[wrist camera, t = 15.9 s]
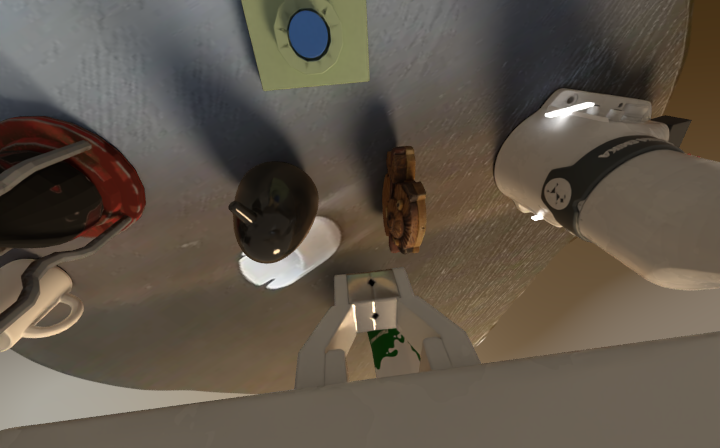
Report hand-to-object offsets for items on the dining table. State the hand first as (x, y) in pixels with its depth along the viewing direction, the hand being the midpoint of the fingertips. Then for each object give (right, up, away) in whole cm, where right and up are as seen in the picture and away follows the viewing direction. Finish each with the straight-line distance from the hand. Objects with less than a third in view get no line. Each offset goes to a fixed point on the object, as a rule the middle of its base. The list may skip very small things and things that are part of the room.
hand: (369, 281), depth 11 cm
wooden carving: (+4, +8, +29) cm, 30 cm away
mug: (-49, -7, +31) cm, 59 cm away
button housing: (-6, +23, +17) cm, 29 cm away
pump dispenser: (-12, +8, +26) cm, 30 cm away
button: (-5, +21, +14) cm, 26 cm away
